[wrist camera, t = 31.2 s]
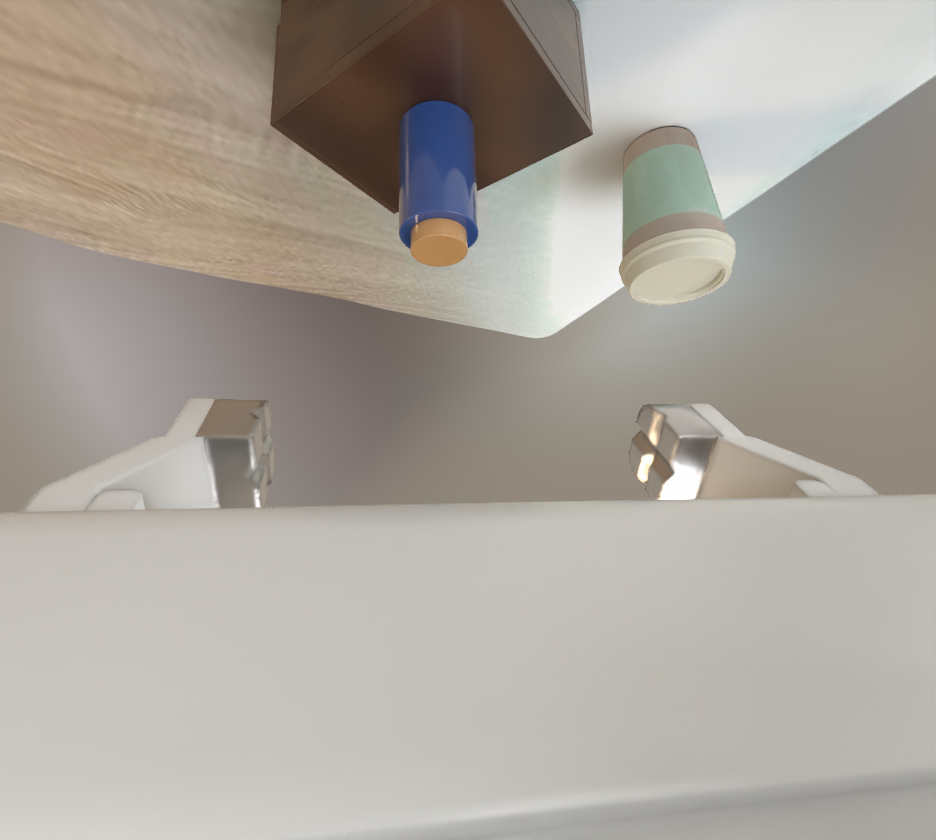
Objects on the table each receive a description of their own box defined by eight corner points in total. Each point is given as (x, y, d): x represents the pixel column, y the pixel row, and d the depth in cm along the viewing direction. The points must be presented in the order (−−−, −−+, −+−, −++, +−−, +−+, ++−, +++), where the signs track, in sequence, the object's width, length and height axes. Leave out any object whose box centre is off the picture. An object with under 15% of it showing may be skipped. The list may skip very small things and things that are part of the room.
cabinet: (411, 117, 42) (412, 223, 40) (282, -6, 33) (273, 121, 31) (579, 12, 35) (593, 135, 33) (472, -183, 26) (480, -34, 23)
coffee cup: (625, 199, 53) (640, 317, 49) (591, 143, 46) (606, 277, 42) (724, 161, 48) (747, 288, 45) (702, 93, 41) (728, 238, 38)
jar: (383, 124, 31) (381, 247, 29) (443, 86, 29) (446, 217, 27) (430, 166, 35) (432, 280, 33) (488, 135, 32) (494, 255, 30)
